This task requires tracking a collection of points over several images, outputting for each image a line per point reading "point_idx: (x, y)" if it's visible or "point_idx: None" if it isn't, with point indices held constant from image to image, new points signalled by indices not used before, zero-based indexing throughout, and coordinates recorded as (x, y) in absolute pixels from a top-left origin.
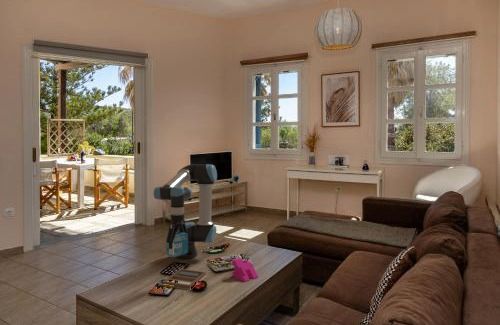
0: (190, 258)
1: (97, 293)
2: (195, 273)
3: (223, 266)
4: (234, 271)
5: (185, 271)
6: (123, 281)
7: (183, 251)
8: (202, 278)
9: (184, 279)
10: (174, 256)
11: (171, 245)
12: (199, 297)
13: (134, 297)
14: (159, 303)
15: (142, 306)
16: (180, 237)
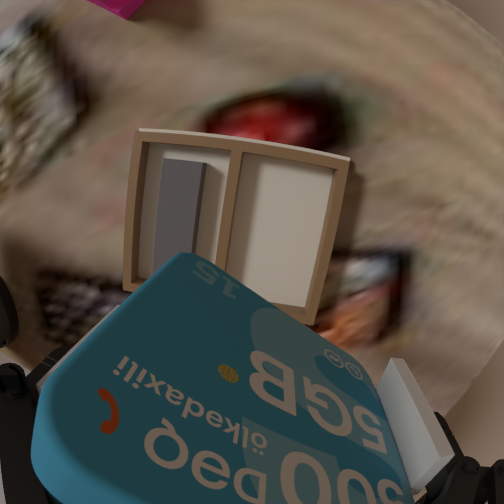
0: (2, 282)
1: None
2: (164, 183)
3: (31, 106)
4: (110, 8)
5: (134, 255)
6: None
7: (238, 296)
8: (188, 134)
9: (231, 228)
10: (336, 347)
11: (450, 442)
12: (406, 102)
13: (412, 370)
14: (465, 263)
15: (477, 312)
16: (271, 492)
